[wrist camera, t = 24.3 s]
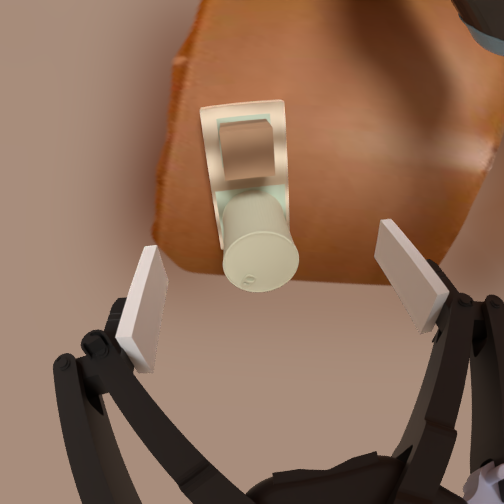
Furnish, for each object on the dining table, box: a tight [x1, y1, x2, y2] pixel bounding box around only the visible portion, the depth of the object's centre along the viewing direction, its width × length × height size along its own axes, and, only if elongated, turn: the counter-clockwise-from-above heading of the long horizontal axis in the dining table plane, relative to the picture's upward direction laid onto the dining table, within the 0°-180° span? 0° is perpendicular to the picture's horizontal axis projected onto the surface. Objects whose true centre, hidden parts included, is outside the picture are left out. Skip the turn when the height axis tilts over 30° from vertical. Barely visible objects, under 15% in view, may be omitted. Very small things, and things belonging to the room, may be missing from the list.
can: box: [222, 190, 299, 293], centre depth 40 cm, size 9×9×12 cm
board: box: [200, 99, 290, 250], centre depth 43 cm, size 22×11×3 cm, turn 5°
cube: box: [219, 119, 275, 181], centre depth 36 cm, size 6×6×6 cm
